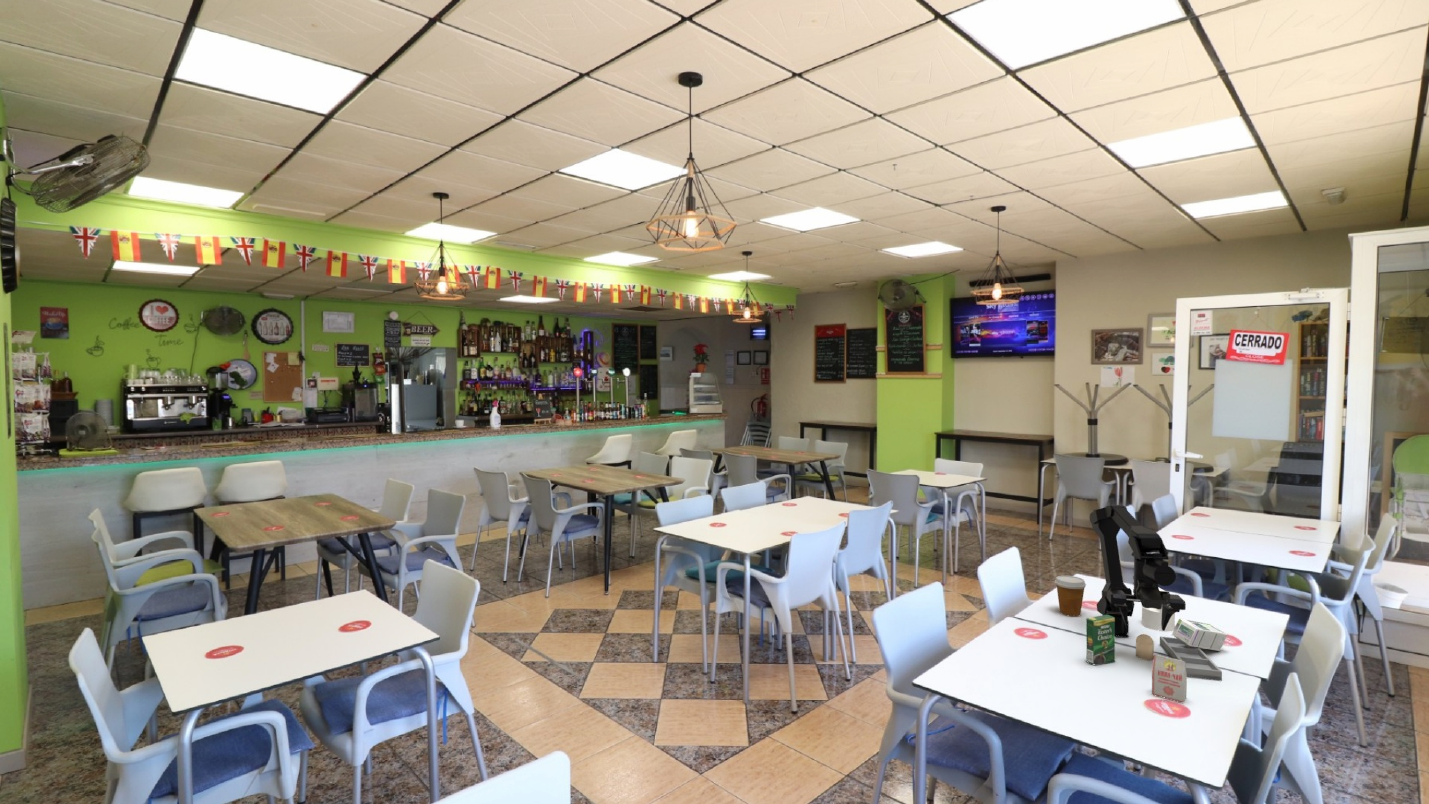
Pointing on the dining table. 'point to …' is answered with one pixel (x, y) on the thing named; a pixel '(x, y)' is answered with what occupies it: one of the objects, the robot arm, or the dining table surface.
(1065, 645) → the dining table surface
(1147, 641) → the beige domed cylinder
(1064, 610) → the disposable coffee cup
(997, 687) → the dining table surface
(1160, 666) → the tea bag
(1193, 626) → the syrup box
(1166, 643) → the grey divided tray
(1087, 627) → the coffee box
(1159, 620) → the base with upright slab
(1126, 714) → the dining table surface
